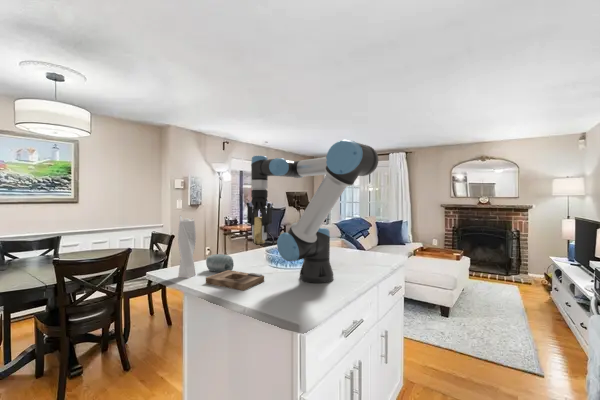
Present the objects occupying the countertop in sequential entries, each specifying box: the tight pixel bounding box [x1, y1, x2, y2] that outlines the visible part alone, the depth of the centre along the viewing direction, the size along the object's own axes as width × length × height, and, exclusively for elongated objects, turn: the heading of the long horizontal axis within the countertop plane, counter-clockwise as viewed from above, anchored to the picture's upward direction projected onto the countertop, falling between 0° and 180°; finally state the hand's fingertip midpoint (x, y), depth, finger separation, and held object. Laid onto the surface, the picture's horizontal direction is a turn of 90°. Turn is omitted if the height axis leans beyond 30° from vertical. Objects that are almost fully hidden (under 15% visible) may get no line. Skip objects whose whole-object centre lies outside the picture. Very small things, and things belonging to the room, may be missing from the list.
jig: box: [205, 270, 265, 291], centre depth 124 cm, size 20×14×3 cm
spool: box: [205, 253, 235, 273], centre depth 142 cm, size 14×10×10 cm
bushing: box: [253, 216, 266, 245], centre depth 135 cm, size 5×5×12 cm
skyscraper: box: [177, 215, 197, 279], centre depth 133 cm, size 8×8×28 cm
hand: (259, 239), depth 136 cm, fingers closed on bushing, 5 cm apart
